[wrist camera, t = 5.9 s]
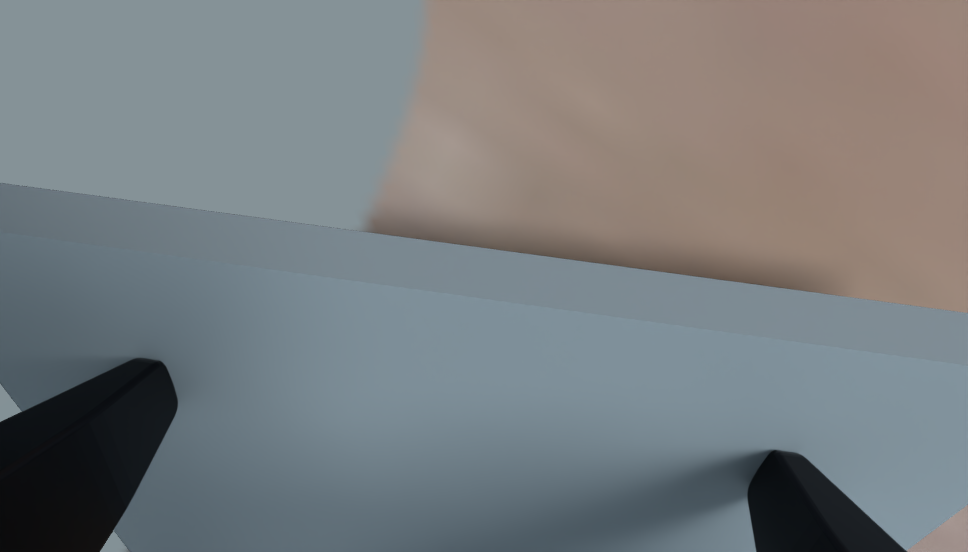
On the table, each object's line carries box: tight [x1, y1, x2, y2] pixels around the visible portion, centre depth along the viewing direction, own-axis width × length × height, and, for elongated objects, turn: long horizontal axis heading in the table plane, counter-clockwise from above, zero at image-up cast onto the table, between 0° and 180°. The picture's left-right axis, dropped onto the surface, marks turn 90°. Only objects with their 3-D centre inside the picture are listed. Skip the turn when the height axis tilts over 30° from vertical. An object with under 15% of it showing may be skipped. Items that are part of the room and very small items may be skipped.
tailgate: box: [0, 183, 968, 552], centre depth 10 cm, size 1×15×11 cm
